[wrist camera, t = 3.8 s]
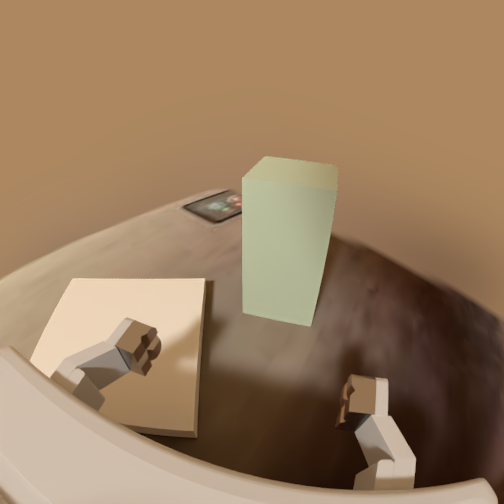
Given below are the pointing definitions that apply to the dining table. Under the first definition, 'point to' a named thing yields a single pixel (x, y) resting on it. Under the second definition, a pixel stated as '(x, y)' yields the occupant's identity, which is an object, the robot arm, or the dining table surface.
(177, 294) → the cream tile
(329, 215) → the green block
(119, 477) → the robot arm
